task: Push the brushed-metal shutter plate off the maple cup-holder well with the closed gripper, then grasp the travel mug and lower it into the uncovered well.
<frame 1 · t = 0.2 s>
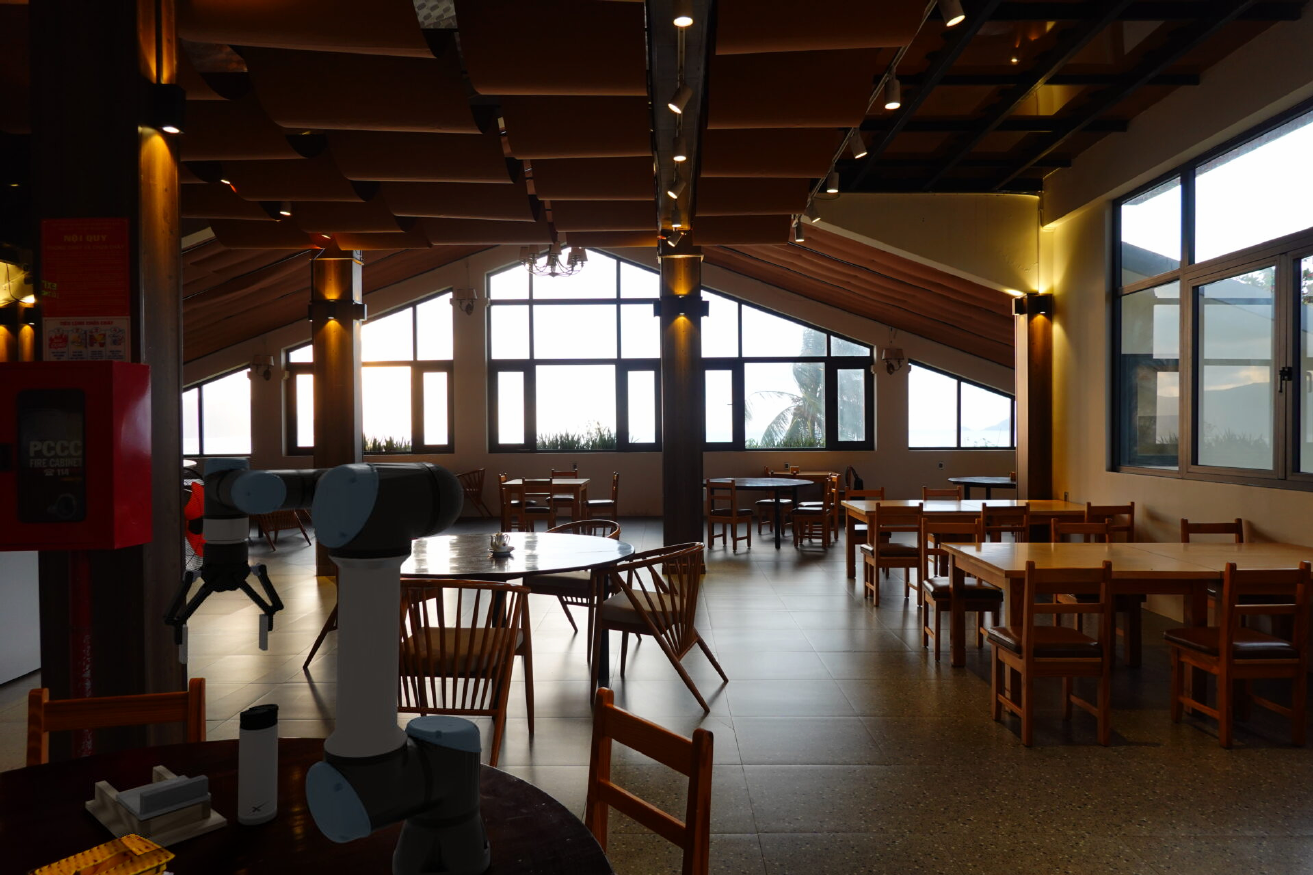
hand: (224, 655, 152), 27 cm above the table, fingers open, 13 cm apart
holder: (154, 816, 146), on the table
shutter: (163, 787, 144), point 6 cm above the table, slide at 0.0 cm
travel mug: (258, 818, 147), on the table
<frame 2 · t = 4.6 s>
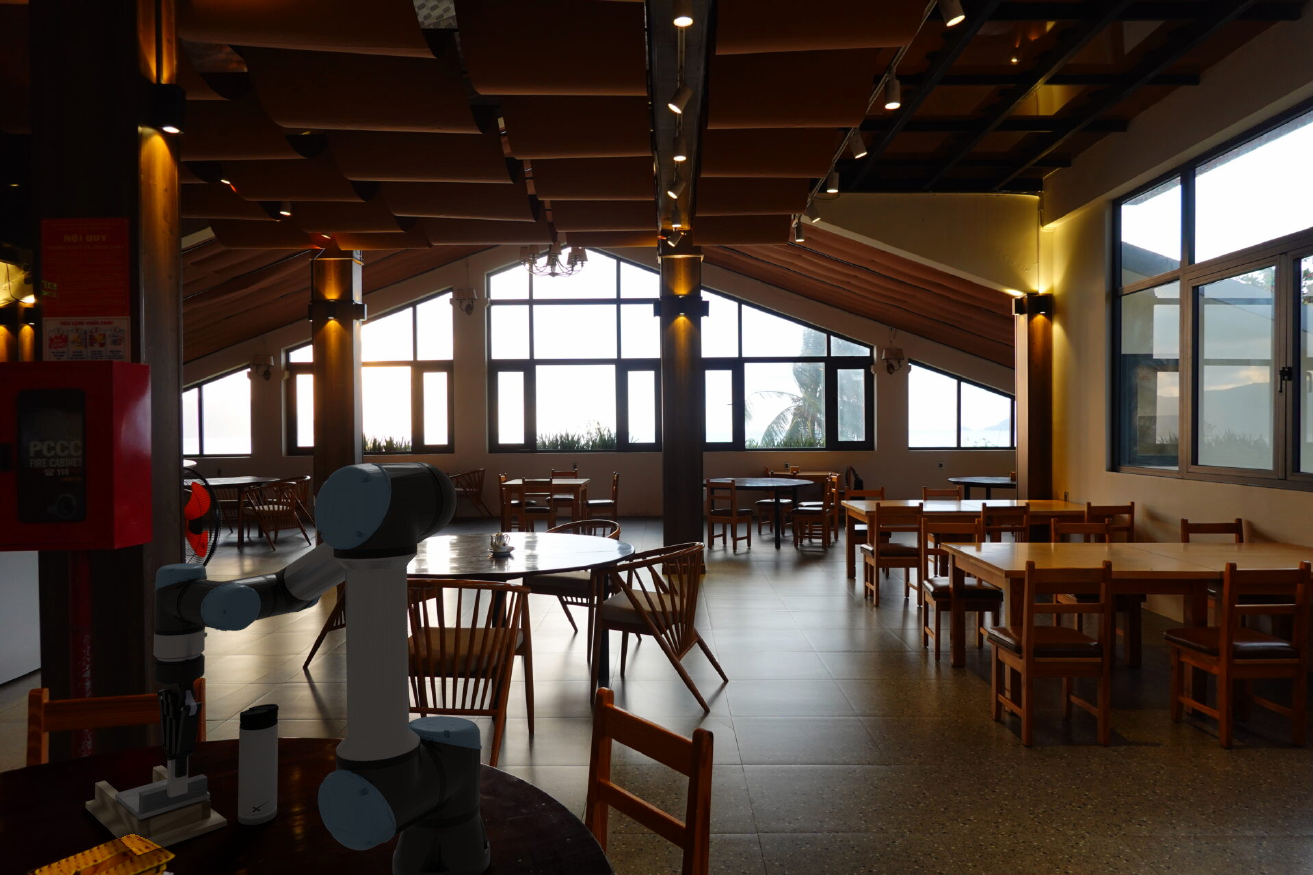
hand: (177, 793, 140), 7 cm above the table, fingers closed
shutter: (162, 787, 144), point 6 cm above the table, slide at 0.4 cm, touching gripper
everything else where it was.
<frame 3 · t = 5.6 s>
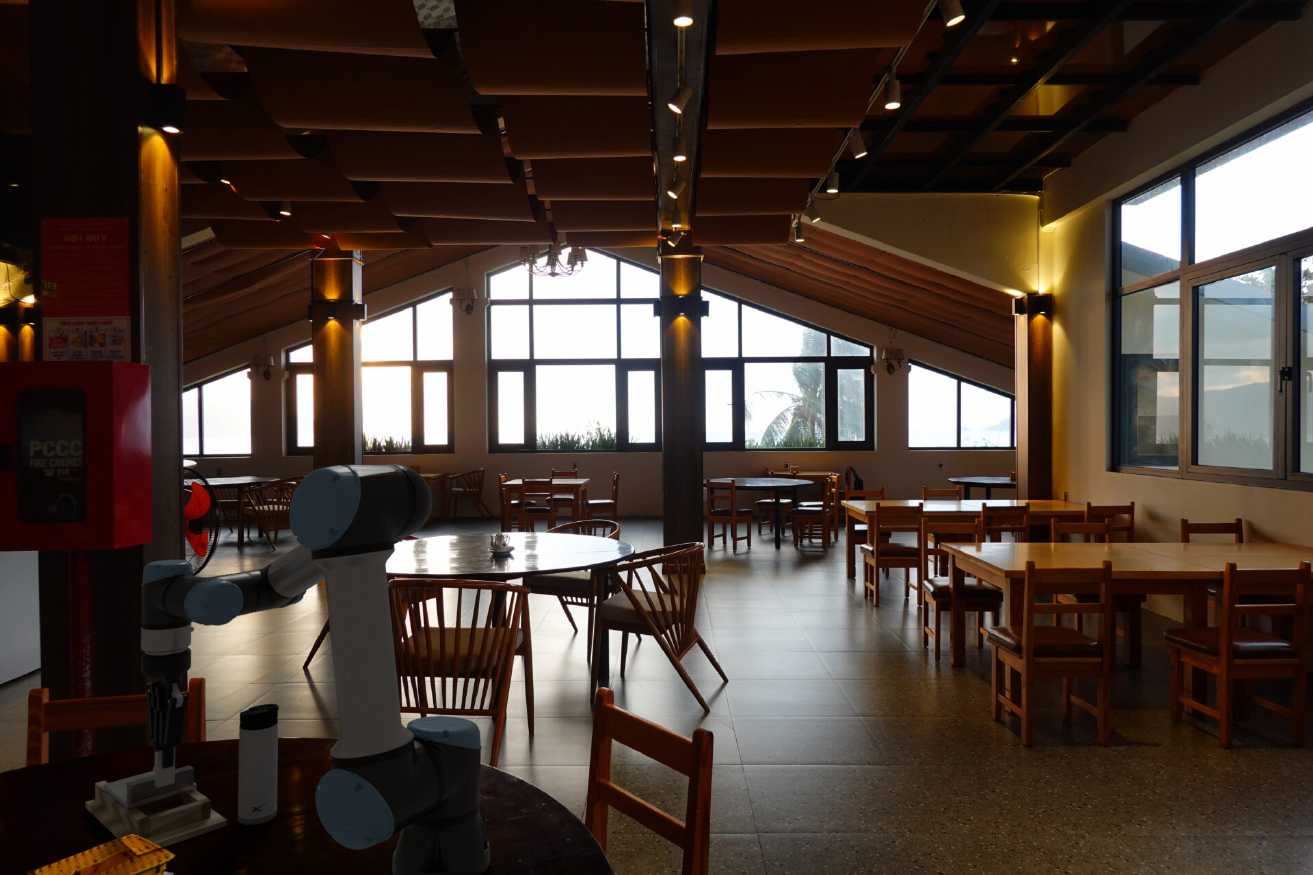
hand: (164, 783, 143), 7 cm above the table, fingers closed
shutter: (150, 777, 148), point 6 cm above the table, slide at 6.2 cm, touching gripper
everything else where it was.
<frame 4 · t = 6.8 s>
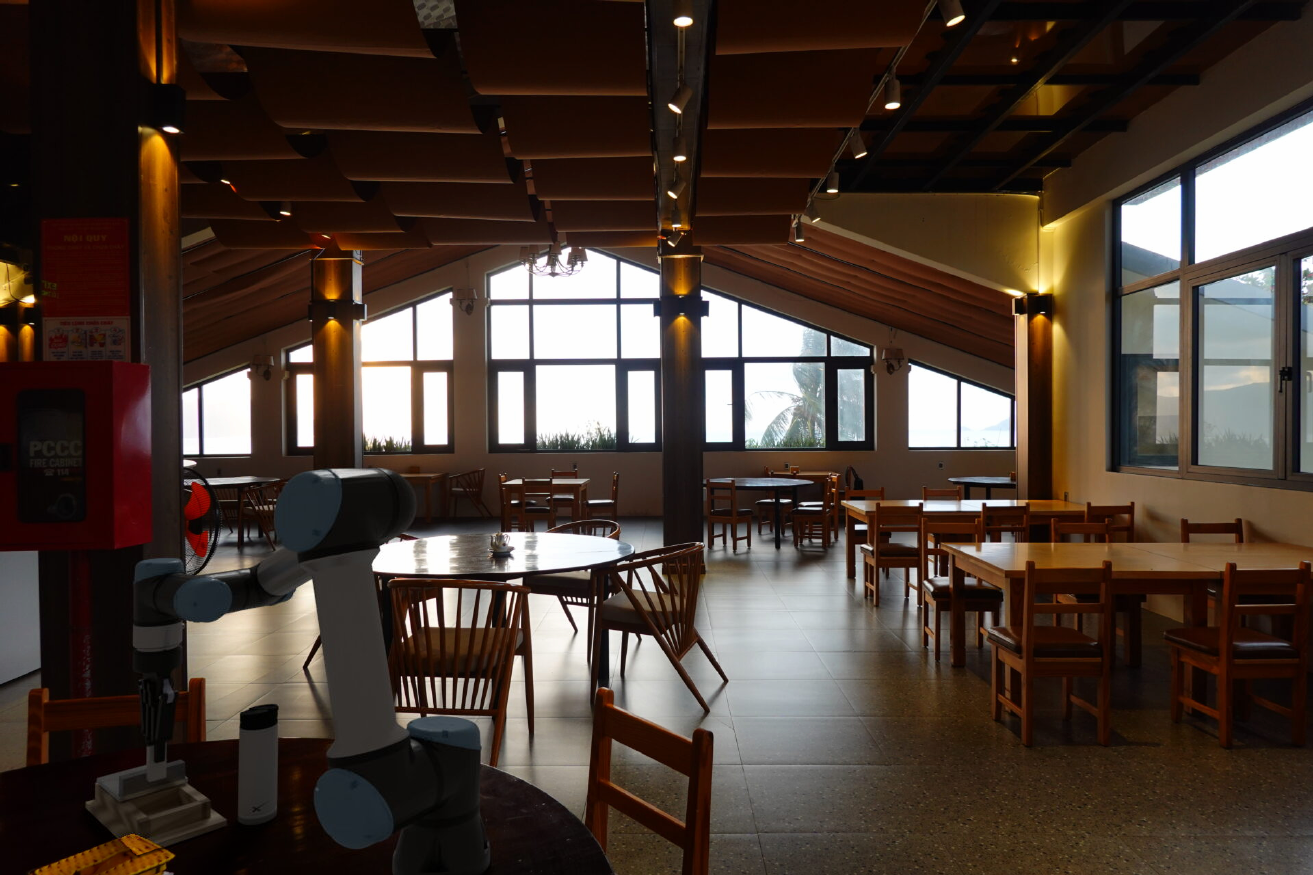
hand: (156, 778, 146), 7 cm above the table, fingers closed
shutter: (142, 771, 150), point 6 cm above the table, slide at 10.2 cm, touching gripper
everything else where it was.
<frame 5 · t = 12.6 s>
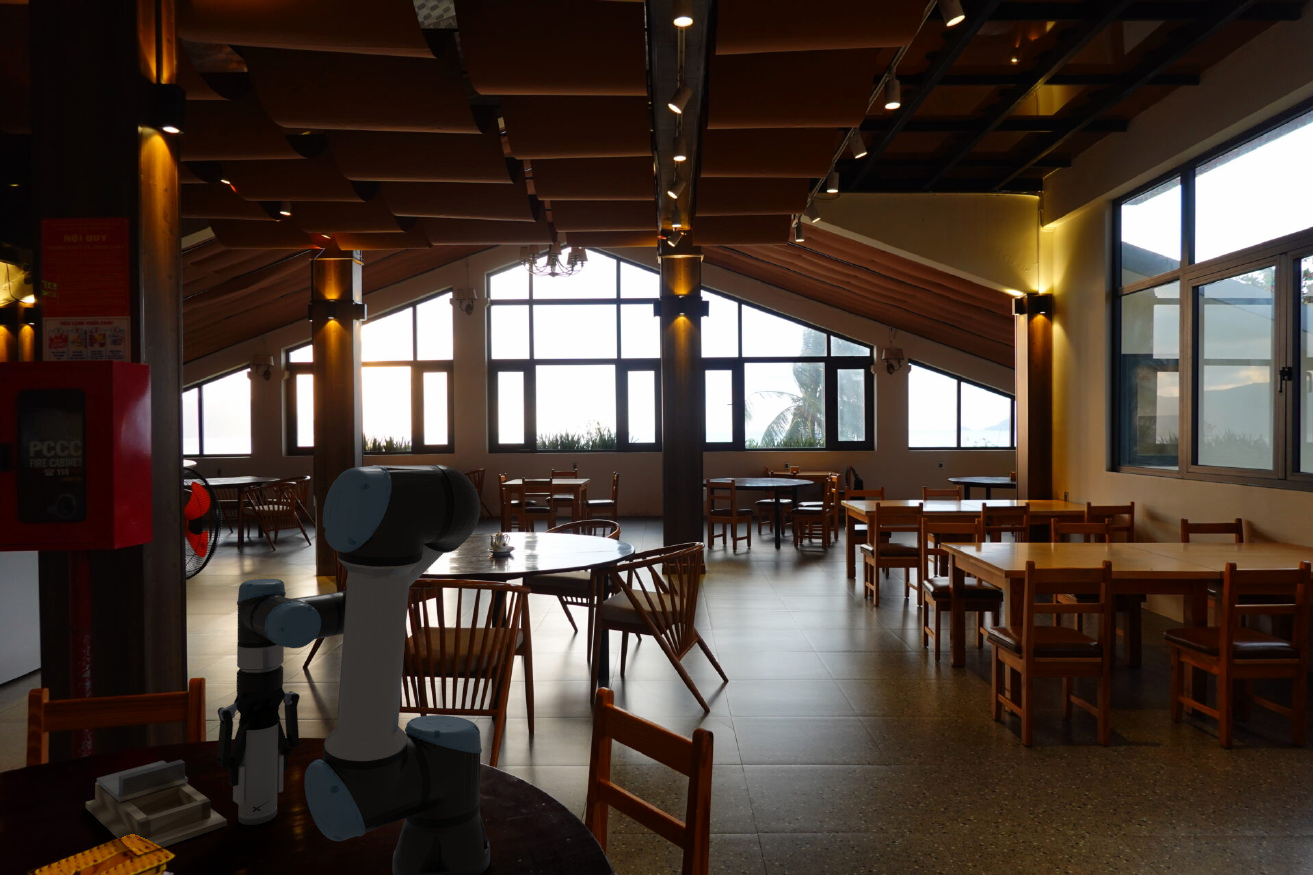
hand: (258, 795, 147), 4 cm above the table, fingers closed on travel mug, 6 cm apart
shutter: (142, 771, 150), point 6 cm above the table, slide at 10.2 cm
travel mug: (258, 818, 147), on the table, touching gripper
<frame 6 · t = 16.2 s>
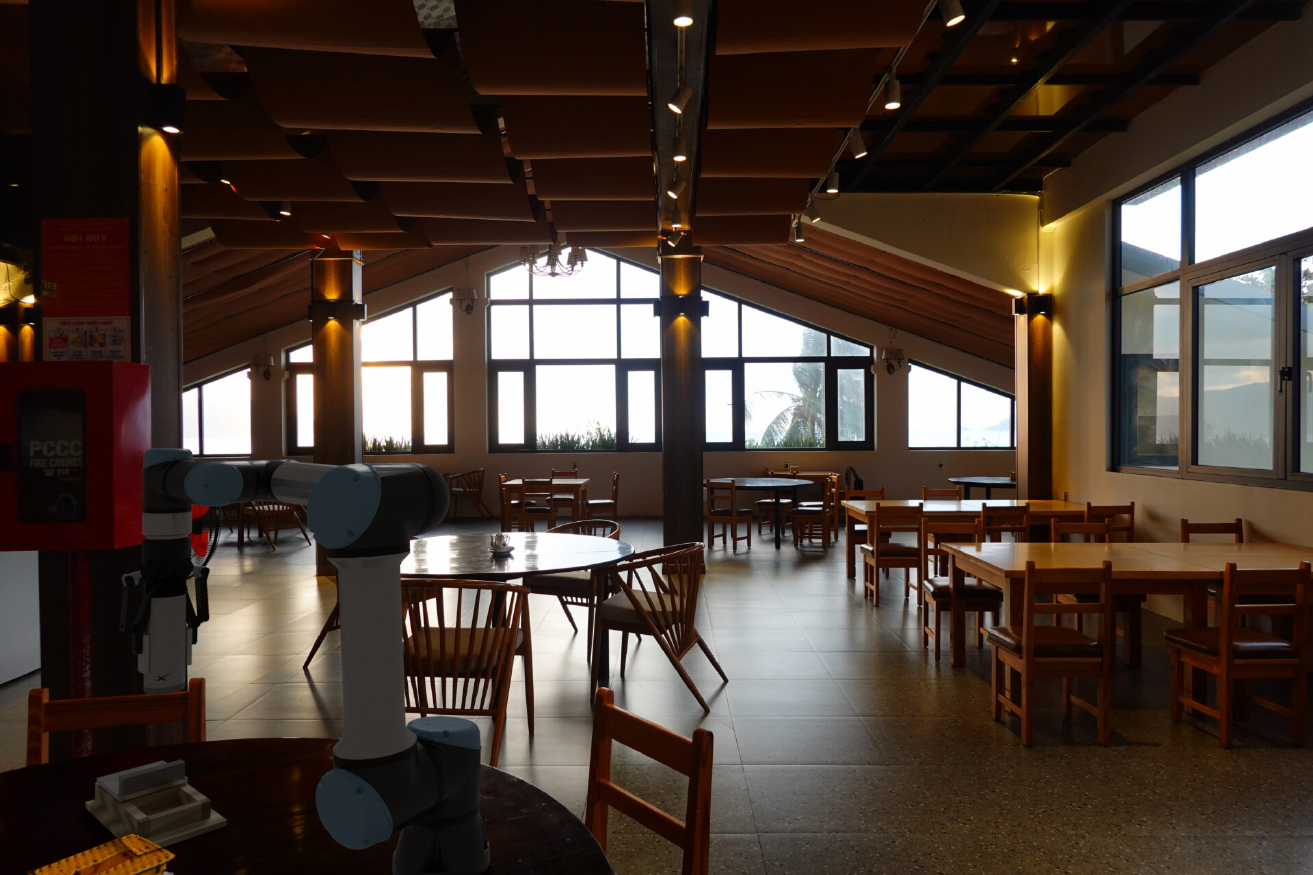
hand: (165, 667, 144), 27 cm above the table, fingers closed on travel mug, 6 cm apart
travel mug: (165, 690, 144), point 23 cm above the table, touching gripper
everything else where it was.
when the fingers open (6 cm above the table, at t = 20.2 s): travel mug drops 1 cm, resting on holder.
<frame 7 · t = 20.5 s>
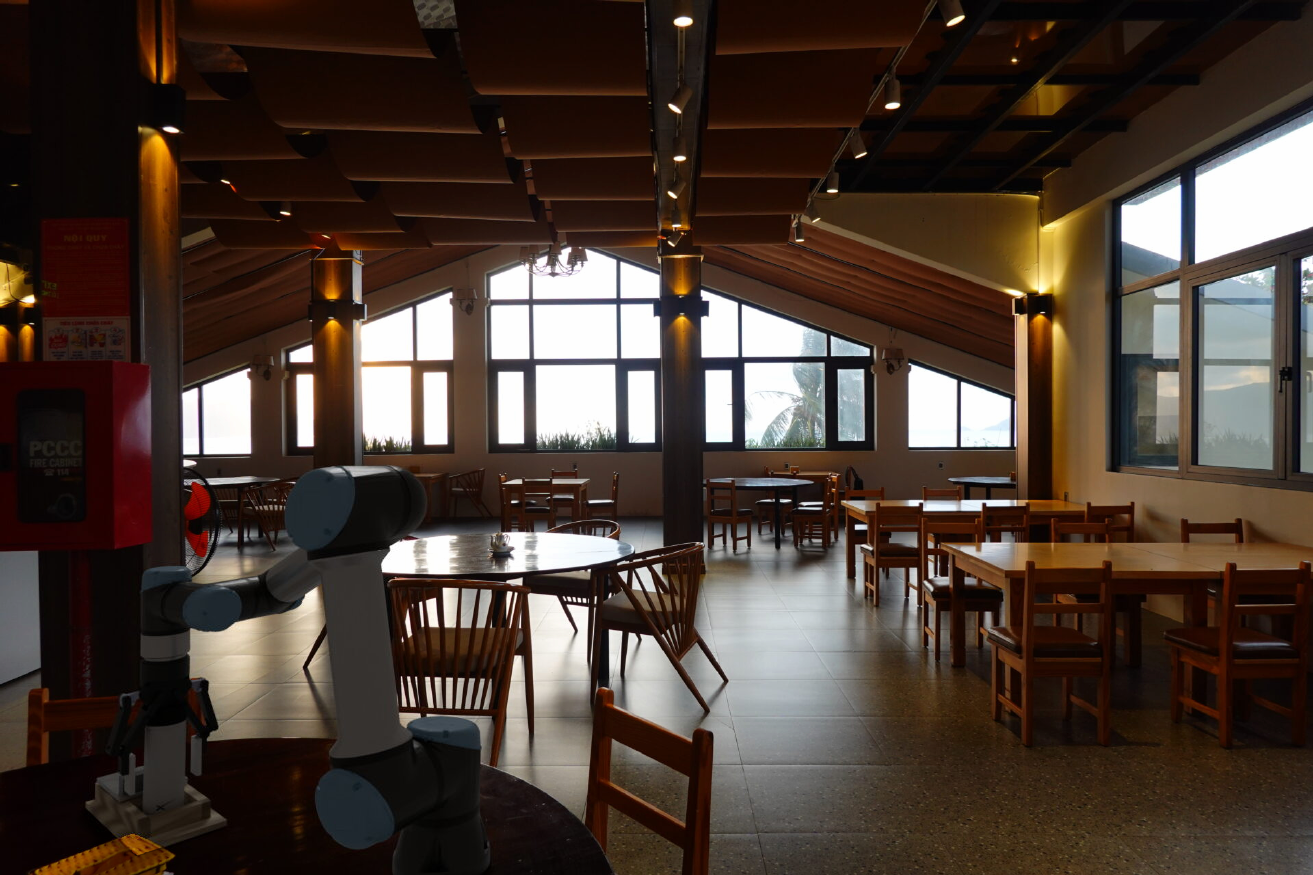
hand: (163, 782, 144), 7 cm above the table, fingers open, 10 cm apart
travel mug: (163, 818, 144), point 1 cm above the table, touching holder
everything else where it was.
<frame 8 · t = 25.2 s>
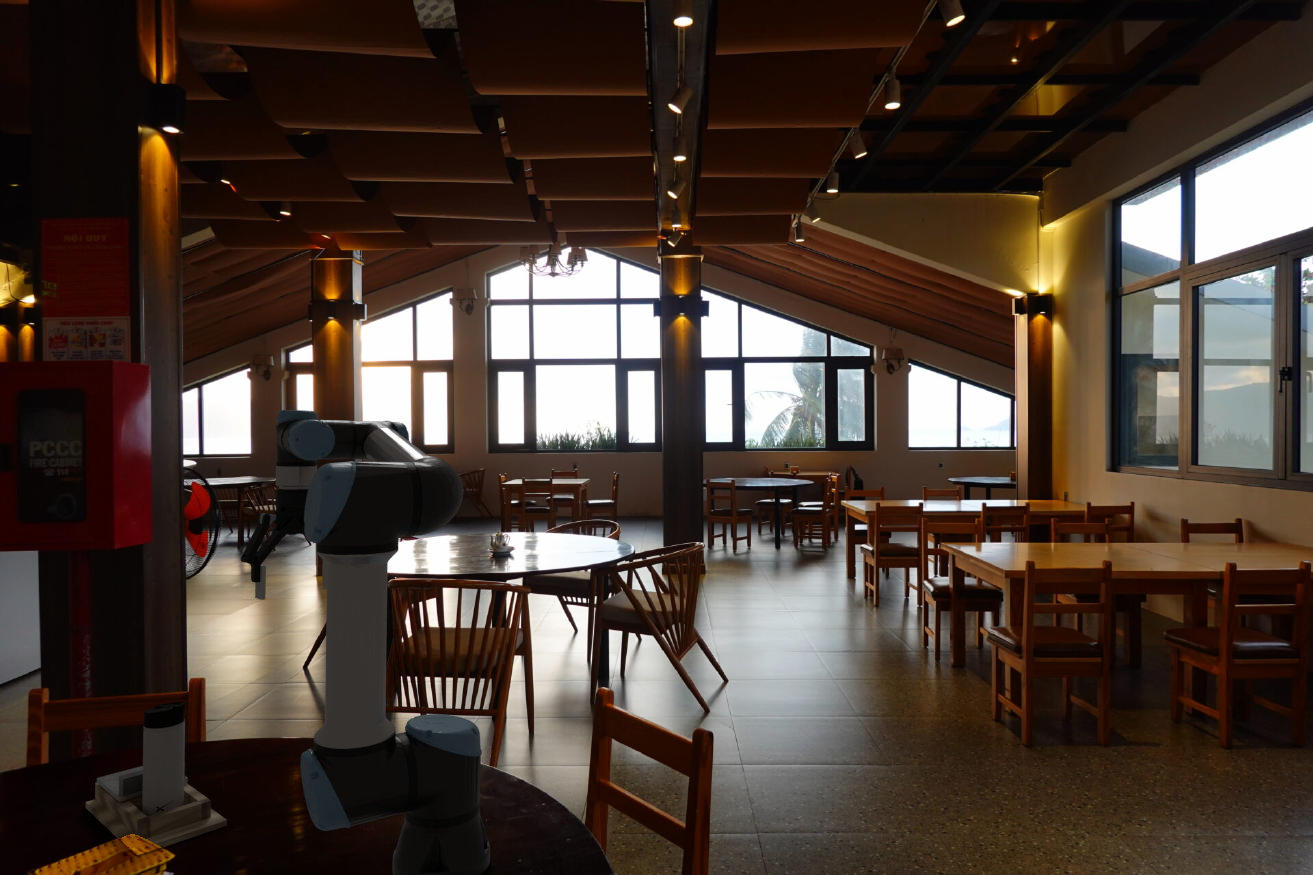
hand: (294, 594, 163), 37 cm above the table, fingers open, 13 cm apart
nothing on the table moved.
at the end: travel mug 0.1 cm from the target spot on the holder, point 0.8 cm above the holder's base; travel mug tilted 0°; shutter slide at 10.2 cm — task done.
